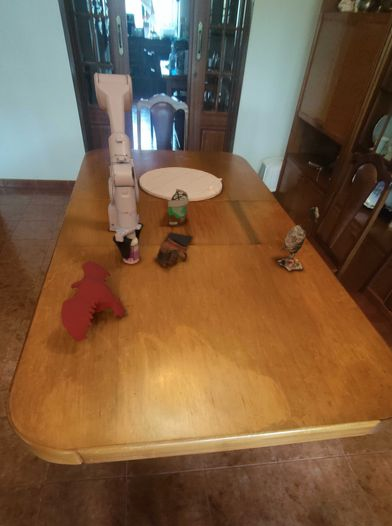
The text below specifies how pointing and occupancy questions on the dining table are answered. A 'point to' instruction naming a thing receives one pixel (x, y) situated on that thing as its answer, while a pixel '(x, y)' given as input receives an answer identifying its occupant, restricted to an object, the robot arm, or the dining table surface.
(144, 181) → the lazy susan
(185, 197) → the food container
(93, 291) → the red lobster claw
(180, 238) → the coaster
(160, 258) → the pottery mug
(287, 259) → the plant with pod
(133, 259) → the pill bottle
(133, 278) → the dining table surface
